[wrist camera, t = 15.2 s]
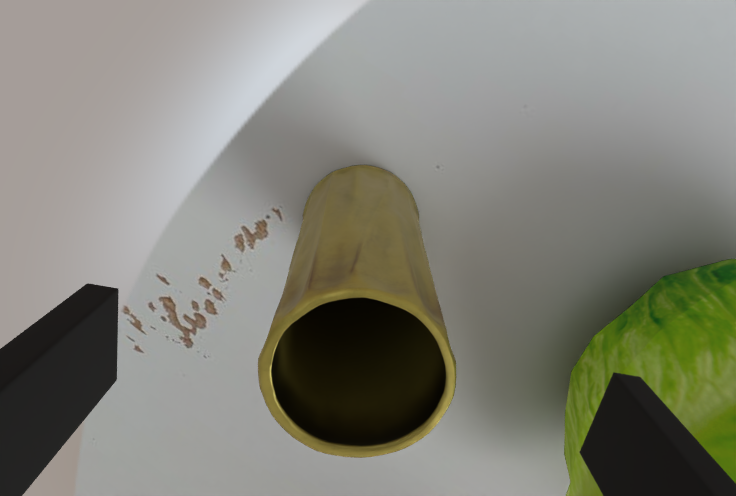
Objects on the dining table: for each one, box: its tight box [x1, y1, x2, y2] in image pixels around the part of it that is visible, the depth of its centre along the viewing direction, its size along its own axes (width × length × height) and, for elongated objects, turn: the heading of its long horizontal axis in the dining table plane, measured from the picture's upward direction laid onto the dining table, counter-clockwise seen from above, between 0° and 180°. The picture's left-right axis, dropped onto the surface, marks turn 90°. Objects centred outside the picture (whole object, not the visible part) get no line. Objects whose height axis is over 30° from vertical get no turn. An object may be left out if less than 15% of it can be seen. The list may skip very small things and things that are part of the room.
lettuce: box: [564, 259, 736, 496], centre depth 23 cm, size 15×20×14 cm
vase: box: [258, 165, 456, 458], centre depth 19 cm, size 6×6×14 cm
